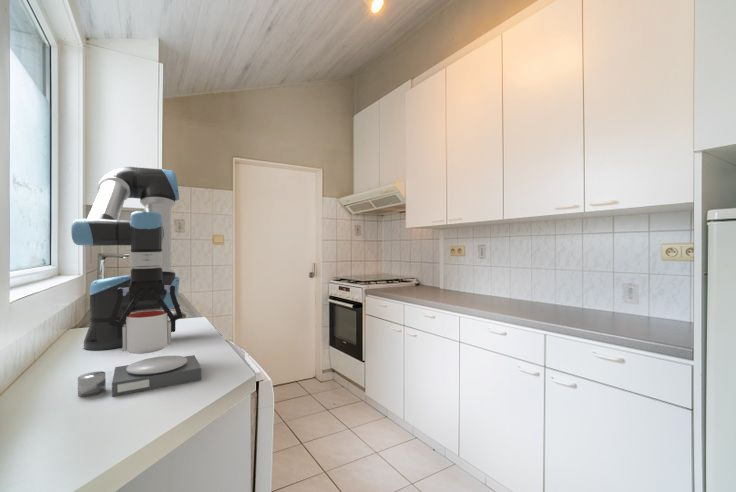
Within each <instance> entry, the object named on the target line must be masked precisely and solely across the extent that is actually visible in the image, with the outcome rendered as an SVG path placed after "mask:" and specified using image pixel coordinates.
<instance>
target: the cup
mask: <svg viewBox="0 0 736 492" xmlns="http://www.w3.org/2000/svg"><path fill="white" fill-rule="evenodd" d="M168 320H169V317H168V315H167V313H165V311H164V310H162V311H160V310H155V311H142V312H131V314H129V316H128V317H126V351H127V352H129V353H131V354H136V355H138V354H139V355H141V354H142V355H143V354H150V353H155V352H159V351H162V350H163V349H165V348H166V347H167V346H168Z"/></svg>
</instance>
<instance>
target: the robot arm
mask: <svg viewBox="0 0 736 492" xmlns="http://www.w3.org/2000/svg"><path fill="white" fill-rule="evenodd" d="M97 191H98V193H97V194H96V195H97V196H96V197H95V200H94V202H93V204H92V207H91V209H90V210H89V213H88V216H87V218H77V219H74V220H73V222H72V224H71V229H70V230H71V231H70V233H71V239H72V242H73V244H75V245H77V246H87V247H94V246H96V247H97V246H98V247H99V246H102V247H103V246H109V247H110V246H130V266H131V267H132V268H131V269H130V275H129V274H126V275H120V276H119V275H118V276H113V277H106V278H100V279H95V280H93V281H92V282H91V283H90V289H89V313H90V314H89V318H90V319H89V326H88V329H87V332H86V334H85V336H84V340H83V349H84V350H87V351H101V350H111V349H116V348H117V349H118V348H122V352H125V351H127V349H126V317H128V316H129V314H132V313H136V312H143V311H165V313H167V315H168V344H167V346H171V345H172V333H175V332H176V321H177V320H179V319H182V318H183V313H182V311H181V308H180V305H179V302H178V295H179V290H180V277H178V276H176V272H175V271H174V270H173V269H172V261H171V259H172V253H171V252H172V251H171V250H172V249H171V248H172V245H171V244H172V243H171V241H172V235H171V234H172V233H171V232H172V231H171V228H172V226H171V225H172V219H171V218H172V210H171V209H172V208H173V207H174V206H176V201H180V191H179V185H178V178H177V174H176V172H175V171H174V170H170V169H169V170H168V169H164V168H161V169H160V168H151V167H150V168H149V167H148V168H147V167H137V166H136V167H135V166H124V167H120V168H116V169H114V170H112V171H110V172H108V173H106V174H104V176H103V177H102V178H100V180H99V182H98V183H97ZM127 199H138V200H139V199H140V201H139V203H140V204H141V205H142V206H143V207H144V211H141V210H140V211H133V212H131V214H130V219H120V216H121V213H122V210H123V207H124V203H125V201H126V200H127ZM172 309H174V311H175V314H173V312H172V311H171V310H172Z"/></svg>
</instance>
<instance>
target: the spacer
mask: <svg viewBox="0 0 736 492" xmlns="http://www.w3.org/2000/svg"><path fill="white" fill-rule="evenodd" d="M106 374H107V373H106V371H103V370H102V371H101V370H100V371H92V372H87V373H84V374H80V375H79V376H78V377H77V397H79V398H87V397H89V398H90V397H94V396H97V395H98V396H99V395H100V394H103V393H105V392H106V389H107V388H106V382H107V379H106V377H107V376H106Z"/></svg>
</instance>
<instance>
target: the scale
mask: <svg viewBox="0 0 736 492" xmlns="http://www.w3.org/2000/svg"><path fill="white" fill-rule="evenodd" d="M197 381H202V367H201V365H200V363H199V361H198V359H197V358H196V356H195V355H187V356H182V355H163V356H162V355H160V356H156V357H150V358H145V359H141V360H138V361H135V362H132V363H130V364H126V365H119V366H115V368H114V372H113V377H112V380H111V397H117V396H123V395H128V394H132V393H139V392H143V391H144V390H145V391H150V390H155V388H156V389H159V388H160V387H161V388H166V387H170V386H171V385H172V386H176V385H181V384H187V383H192V382H197ZM145 391H144V392H145Z"/></svg>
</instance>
